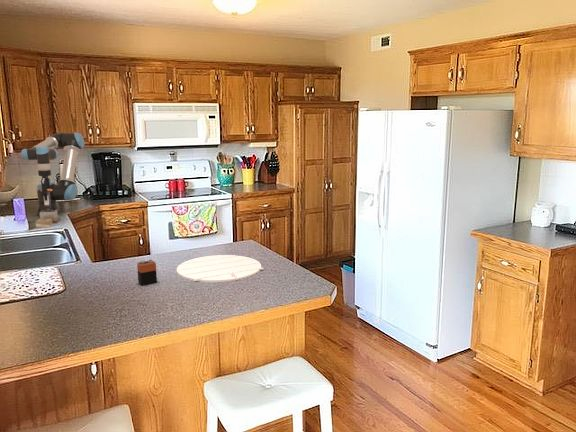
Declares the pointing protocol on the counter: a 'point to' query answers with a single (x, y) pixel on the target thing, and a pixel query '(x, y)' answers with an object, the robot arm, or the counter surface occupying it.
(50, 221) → the block
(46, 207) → the chuck key
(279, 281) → the counter surface
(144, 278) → the battery
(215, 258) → the lazy susan
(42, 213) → the chuck
